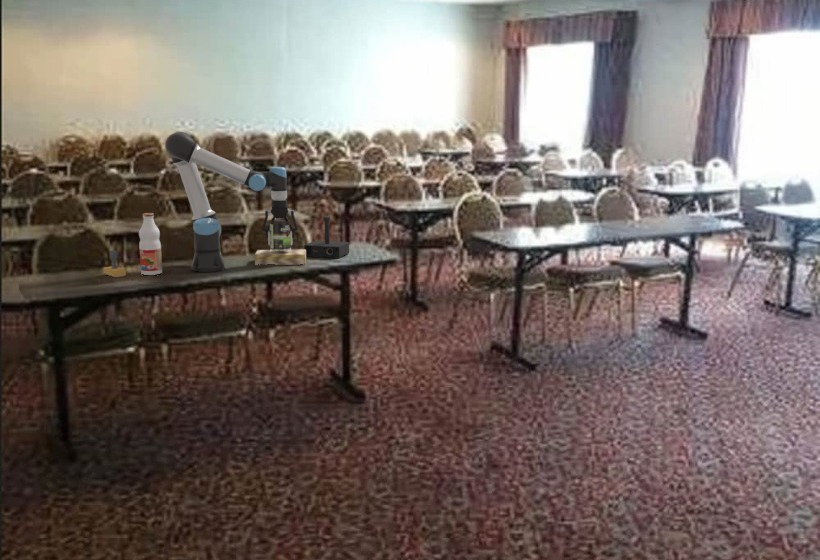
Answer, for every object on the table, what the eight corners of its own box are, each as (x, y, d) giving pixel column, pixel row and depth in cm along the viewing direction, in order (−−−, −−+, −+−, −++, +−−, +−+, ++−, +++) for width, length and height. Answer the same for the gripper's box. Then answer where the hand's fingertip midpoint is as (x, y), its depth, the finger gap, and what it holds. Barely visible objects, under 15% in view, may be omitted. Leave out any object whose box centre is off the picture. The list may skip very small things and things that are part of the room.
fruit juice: (166, 274, 399) (162, 213, 393) (147, 277, 393) (143, 215, 387) (156, 271, 406) (152, 211, 400) (137, 274, 400) (133, 213, 394)
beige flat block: (255, 265, 421) (254, 255, 420) (257, 259, 435) (257, 250, 434) (305, 264, 423) (304, 254, 422) (306, 259, 437) (305, 249, 436)
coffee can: (295, 249, 429) (294, 220, 426) (280, 251, 421) (279, 222, 418) (280, 246, 435) (279, 218, 432) (265, 249, 427) (264, 221, 424)
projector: (302, 257, 443) (301, 218, 438) (315, 252, 458) (314, 214, 454) (337, 259, 437) (337, 220, 433) (349, 254, 453) (349, 215, 449)
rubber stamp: (126, 276, 395) (124, 250, 392) (114, 278, 391) (112, 252, 388) (115, 273, 402) (113, 247, 399) (103, 275, 398) (101, 249, 395)
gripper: (254, 200, 418) (256, 246, 423) (302, 200, 420) (303, 245, 425) (256, 198, 426) (257, 243, 430) (303, 198, 428) (304, 243, 432)
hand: (280, 244), depth 428 cm, fingers closed on coffee can, 10 cm apart
